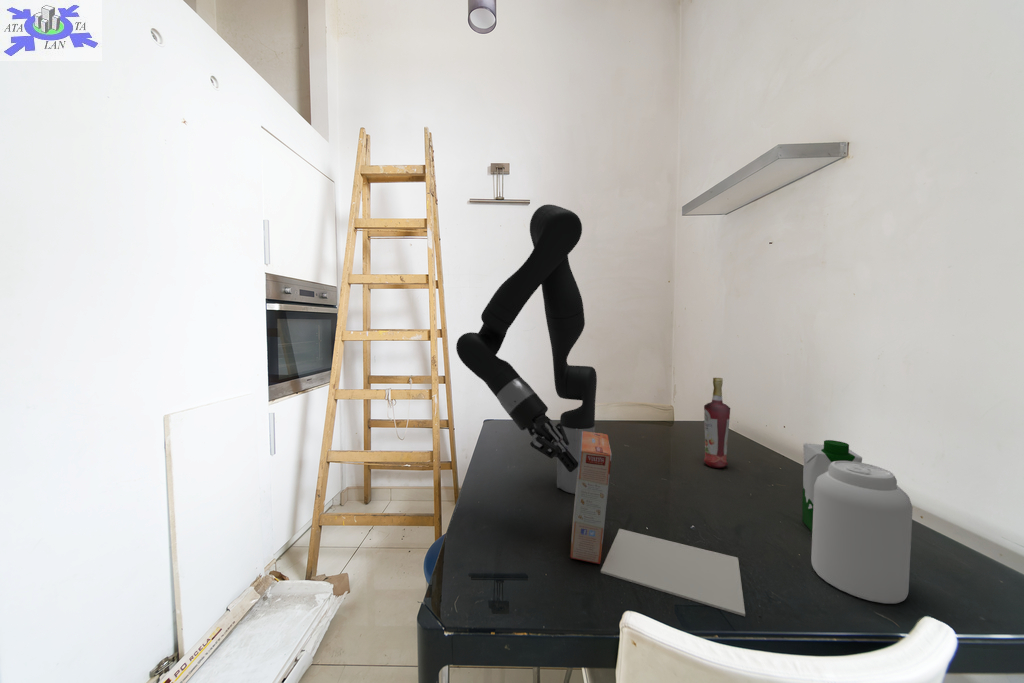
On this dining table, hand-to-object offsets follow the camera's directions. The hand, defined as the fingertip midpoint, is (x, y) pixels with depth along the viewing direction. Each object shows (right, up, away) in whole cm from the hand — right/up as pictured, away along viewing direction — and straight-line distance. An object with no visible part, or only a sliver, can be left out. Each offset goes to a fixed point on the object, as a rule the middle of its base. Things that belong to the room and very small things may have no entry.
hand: (575, 468), depth 78 cm
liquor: (+52, -14, +44) cm, 69 cm away
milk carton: (+55, -15, +5) cm, 58 cm away
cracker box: (+2, -15, -1) cm, 15 cm away
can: (+47, -16, -11) cm, 51 cm away
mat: (+16, -15, -8) cm, 24 cm away
